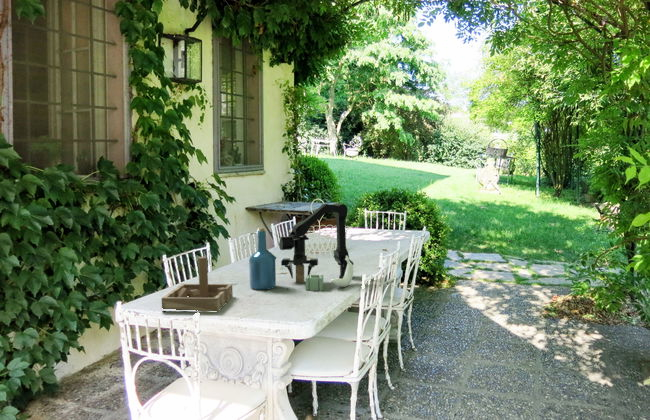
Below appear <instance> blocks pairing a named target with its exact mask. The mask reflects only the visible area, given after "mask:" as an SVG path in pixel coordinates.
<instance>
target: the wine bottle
mask: <svg viewBox="0 0 650 420" xmlns="http://www.w3.org/2000/svg"><path fill="white" fill-rule="evenodd" d="M276 261H277V257H276V256H275V255H274V254H273V253H272V252H270V250H268V249H267V233H266V230H265V227H260V228H258V231H257V251H256V252H254V253H252V254H251V256H250V257H249V263H248V264H249V265H248V266H249V267H248V268H249V287H250V288H251V289H253V290H257V291H261V290H270V289H274V288H275V287H276V286H277V270H276V269H277V268H276V267H277V264H276V263H277V262H276Z"/></svg>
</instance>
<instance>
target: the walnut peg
mask: <svg viewBox="0 0 650 420" xmlns="http://www.w3.org/2000/svg"><path fill="white" fill-rule="evenodd" d="M304 283H305V264H303V265H295V284H304Z"/></svg>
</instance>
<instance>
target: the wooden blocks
mask: <svg viewBox="0 0 650 420" xmlns="http://www.w3.org/2000/svg"><path fill="white" fill-rule="evenodd" d="M197 263H198V264H197V265H198V284H199V290H200V292H199V290H197V289H195V290H190V297H189V298H210V297H209V294H208V284H209V277H208V274H209V273H208V257H207V256H198V259H197ZM221 291H226V303H227V304H229V301H228V289H227V288H224V287H222V288H218V289H217V295H218V294H219V293H220V292H221ZM176 297H184V298H188V297H187V289H185V288H182V289H181V290H180V292H179V293H178V294H177V296H176Z"/></svg>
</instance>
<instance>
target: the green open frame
mask: <svg viewBox="0 0 650 420" xmlns="http://www.w3.org/2000/svg"><path fill="white" fill-rule="evenodd" d="M323 289H324V274H310V275H308V274H307V275H306V277H305V291H320V292H321V291H323Z"/></svg>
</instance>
